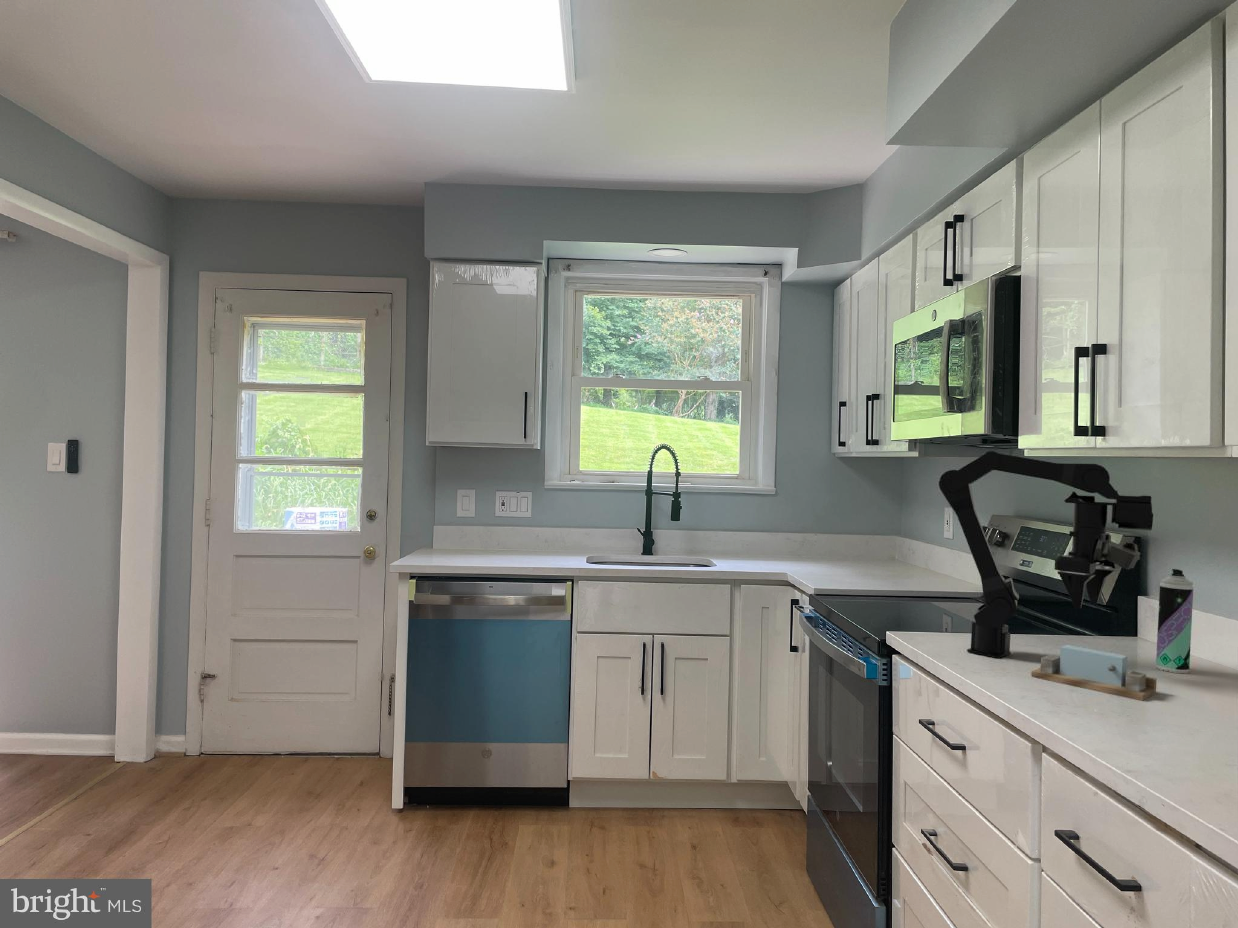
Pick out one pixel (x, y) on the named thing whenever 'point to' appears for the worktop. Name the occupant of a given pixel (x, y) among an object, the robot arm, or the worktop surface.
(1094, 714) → the worktop surface
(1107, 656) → the door panel
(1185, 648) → the spray can
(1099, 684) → the rail
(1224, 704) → the worktop surface
